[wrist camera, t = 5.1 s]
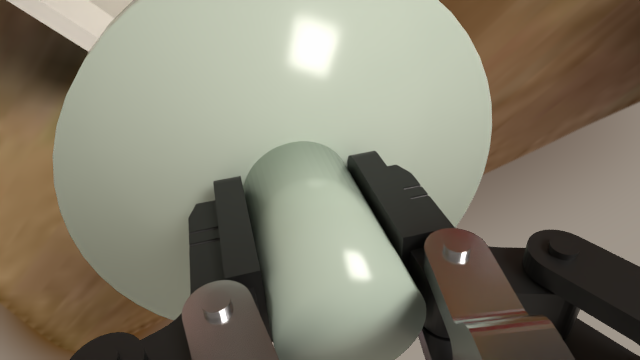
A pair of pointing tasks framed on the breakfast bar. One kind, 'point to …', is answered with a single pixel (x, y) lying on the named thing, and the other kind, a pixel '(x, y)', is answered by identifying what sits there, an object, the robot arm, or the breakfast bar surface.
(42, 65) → the breakfast bar surface
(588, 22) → the breakfast bar surface
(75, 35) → the bowl
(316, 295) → the lid
